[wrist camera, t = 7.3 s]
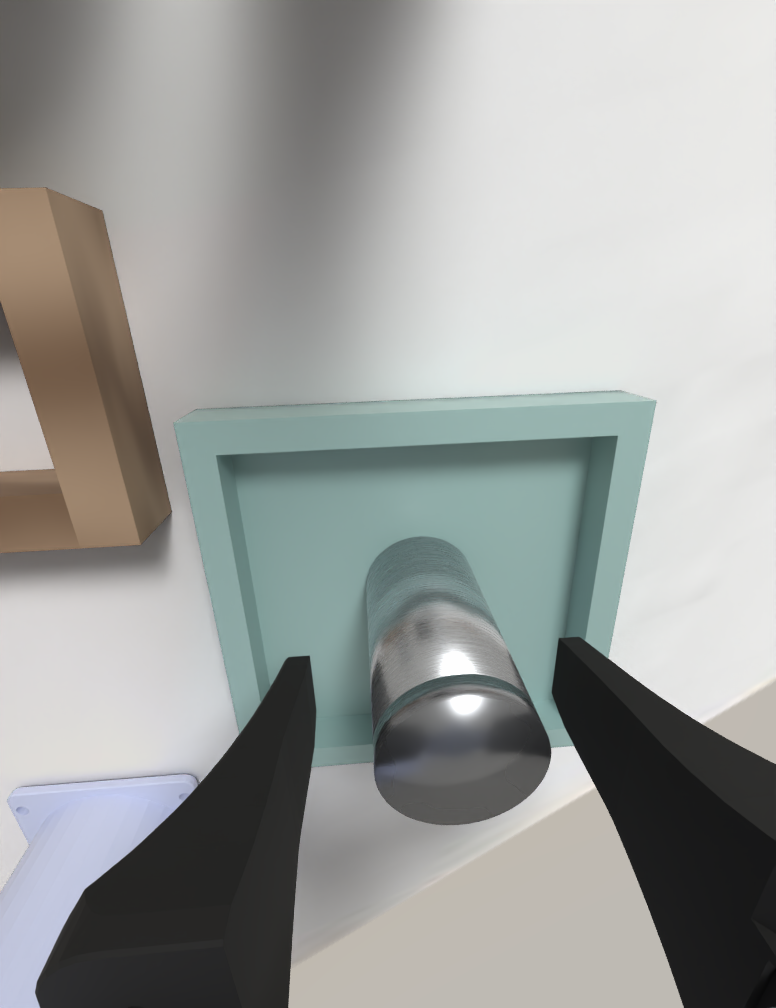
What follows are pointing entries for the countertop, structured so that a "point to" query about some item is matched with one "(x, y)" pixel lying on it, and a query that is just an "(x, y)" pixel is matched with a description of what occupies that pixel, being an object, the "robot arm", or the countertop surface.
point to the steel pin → (445, 691)
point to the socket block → (74, 383)
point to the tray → (410, 531)
